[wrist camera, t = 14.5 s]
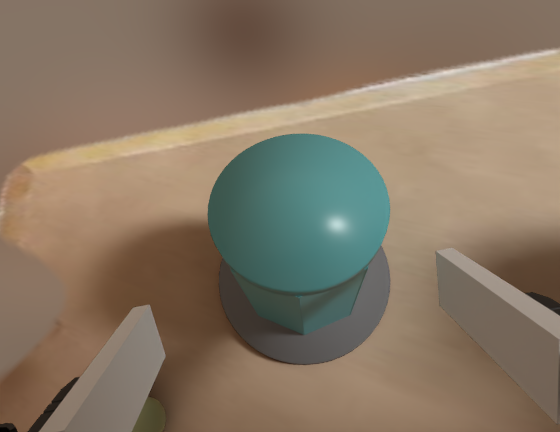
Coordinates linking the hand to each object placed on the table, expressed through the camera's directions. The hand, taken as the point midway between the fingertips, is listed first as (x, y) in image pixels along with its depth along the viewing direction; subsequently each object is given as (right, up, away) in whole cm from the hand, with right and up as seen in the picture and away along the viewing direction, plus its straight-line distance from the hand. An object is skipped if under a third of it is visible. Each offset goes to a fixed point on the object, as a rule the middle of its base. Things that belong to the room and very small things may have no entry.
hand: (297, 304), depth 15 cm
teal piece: (+1, -1, +13) cm, 13 cm away
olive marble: (-10, -11, +9) cm, 17 cm away
